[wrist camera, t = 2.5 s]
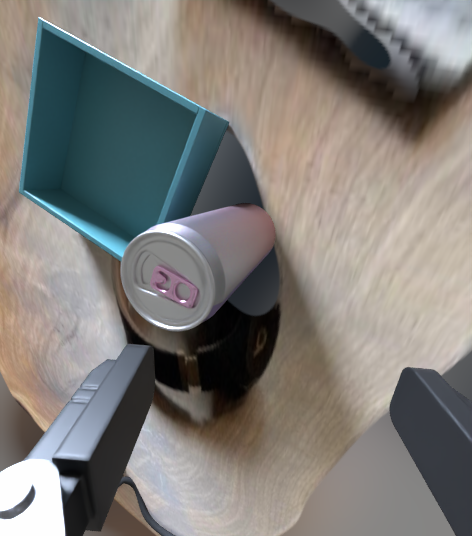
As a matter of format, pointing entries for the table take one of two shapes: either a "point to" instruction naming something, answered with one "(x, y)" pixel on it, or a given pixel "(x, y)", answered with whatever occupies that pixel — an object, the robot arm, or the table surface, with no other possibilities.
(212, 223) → the beverage can
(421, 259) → the table surface
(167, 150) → the box
